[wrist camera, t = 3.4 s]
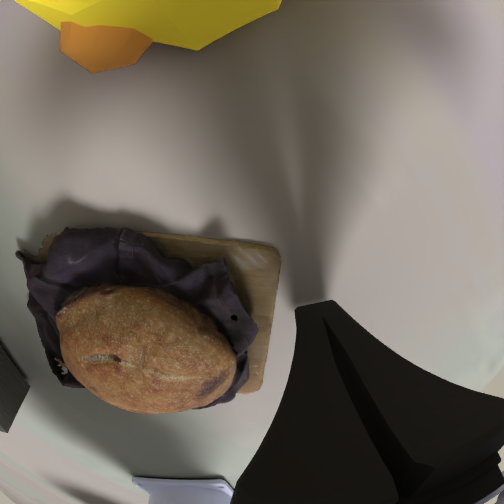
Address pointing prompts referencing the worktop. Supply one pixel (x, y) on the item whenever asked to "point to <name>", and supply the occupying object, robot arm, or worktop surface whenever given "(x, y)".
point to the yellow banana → (141, 25)
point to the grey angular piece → (10, 391)
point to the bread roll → (153, 315)
